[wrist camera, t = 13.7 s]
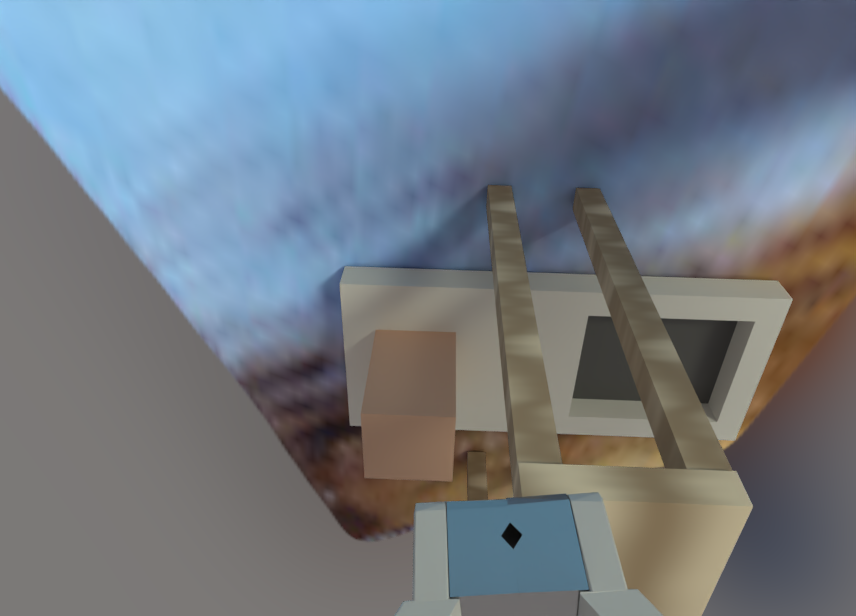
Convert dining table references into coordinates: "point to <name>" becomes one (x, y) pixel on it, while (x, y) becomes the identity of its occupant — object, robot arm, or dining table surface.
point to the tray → (570, 342)
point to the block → (410, 406)
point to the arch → (664, 406)
